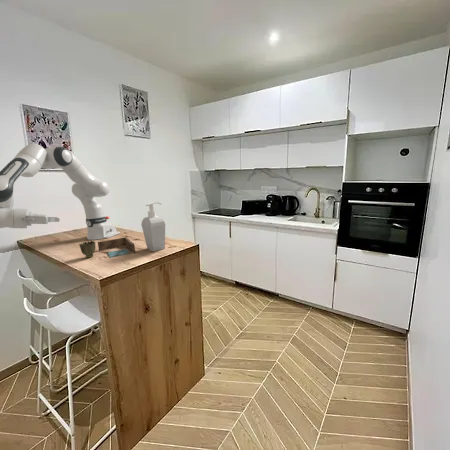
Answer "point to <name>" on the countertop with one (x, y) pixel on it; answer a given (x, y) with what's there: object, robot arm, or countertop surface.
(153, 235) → the soap bottle
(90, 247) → the cup
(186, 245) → the countertop surface
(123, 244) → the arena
